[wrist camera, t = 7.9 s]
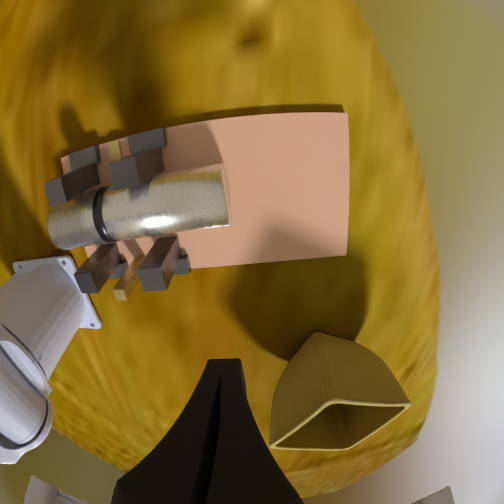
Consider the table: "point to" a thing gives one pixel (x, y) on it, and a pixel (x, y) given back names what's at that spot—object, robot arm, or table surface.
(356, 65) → the table surface
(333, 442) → the flower pot
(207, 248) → the tile
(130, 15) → the table surface
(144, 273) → the rail
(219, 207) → the tube
